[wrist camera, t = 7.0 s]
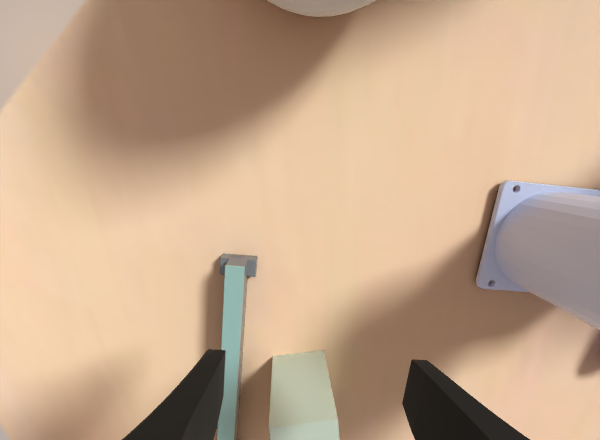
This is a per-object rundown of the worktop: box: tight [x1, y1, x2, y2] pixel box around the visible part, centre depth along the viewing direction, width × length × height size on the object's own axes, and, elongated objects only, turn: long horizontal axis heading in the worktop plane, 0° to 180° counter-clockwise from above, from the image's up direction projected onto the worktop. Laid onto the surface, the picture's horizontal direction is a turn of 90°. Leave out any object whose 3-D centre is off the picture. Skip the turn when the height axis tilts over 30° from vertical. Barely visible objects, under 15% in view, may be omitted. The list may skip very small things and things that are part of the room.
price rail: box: [217, 254, 257, 440], centre depth 21 cm, size 2×18×2 cm, turn 175°
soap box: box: [269, 350, 340, 440], centre depth 20 cm, size 7×4×6 cm, turn 5°
